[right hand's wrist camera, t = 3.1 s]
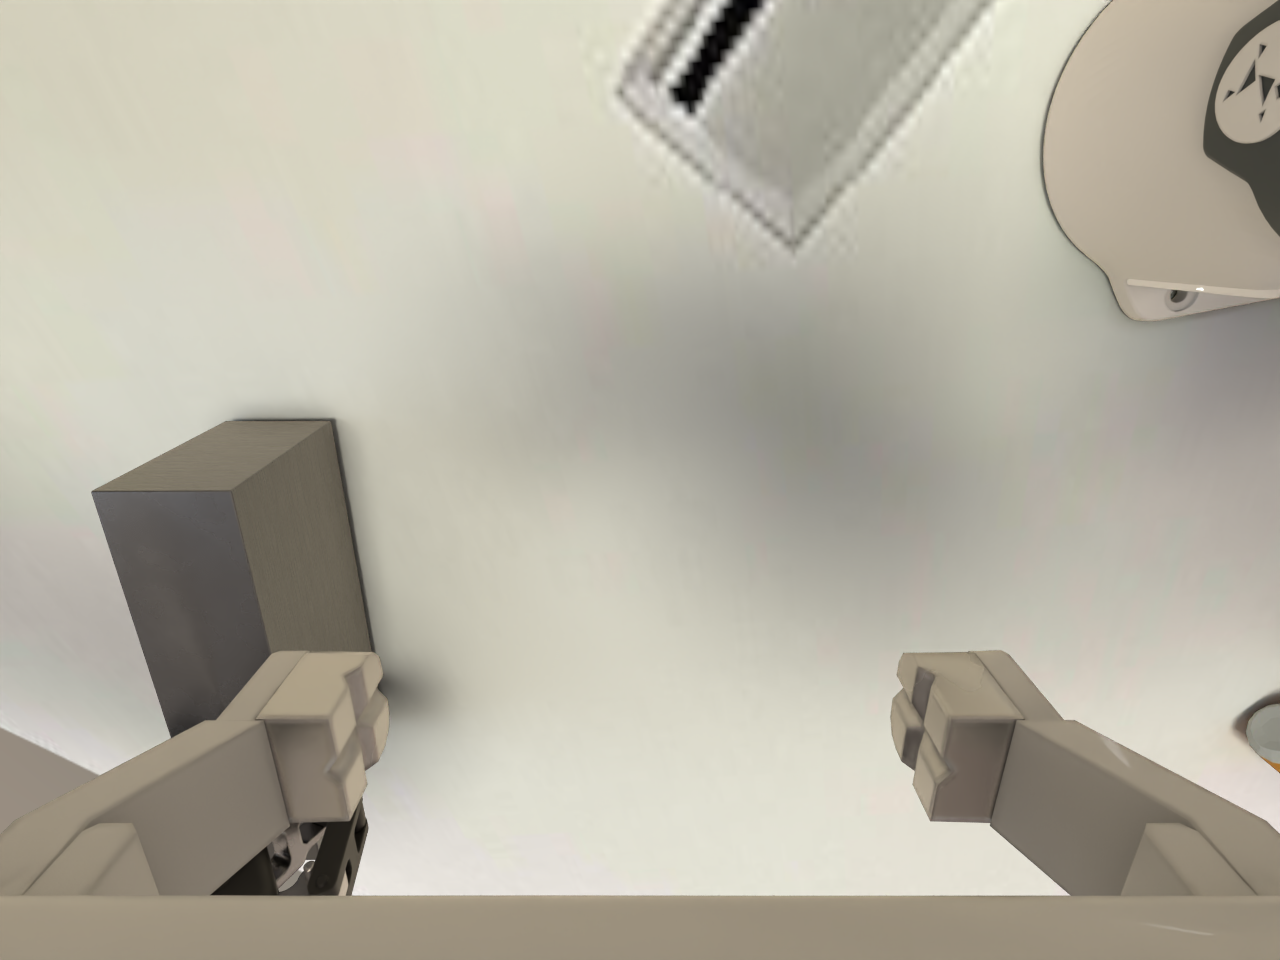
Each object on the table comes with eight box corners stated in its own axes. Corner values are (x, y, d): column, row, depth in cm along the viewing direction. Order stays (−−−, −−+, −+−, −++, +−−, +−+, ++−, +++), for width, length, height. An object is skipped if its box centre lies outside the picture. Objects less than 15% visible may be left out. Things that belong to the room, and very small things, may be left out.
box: (225, 420, 38) (89, 491, 29) (331, 420, 38) (230, 490, 29) (297, 727, 46) (210, 860, 37) (385, 726, 46) (320, 860, 37)
